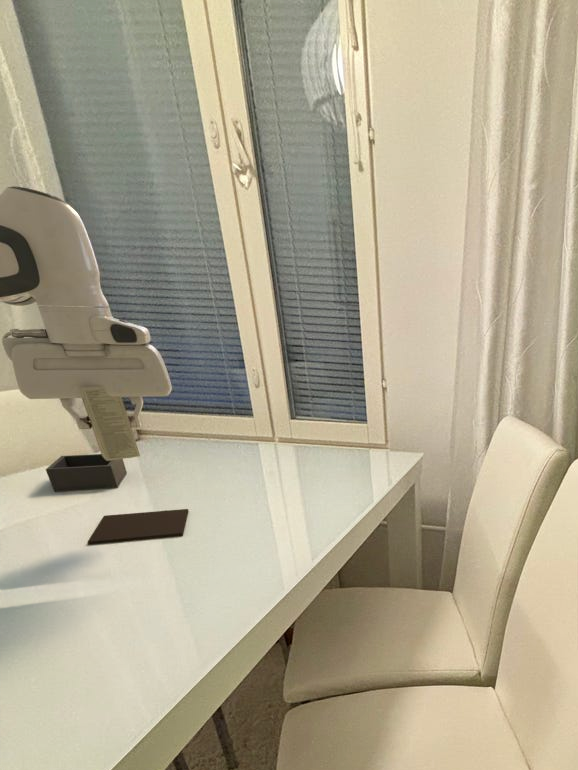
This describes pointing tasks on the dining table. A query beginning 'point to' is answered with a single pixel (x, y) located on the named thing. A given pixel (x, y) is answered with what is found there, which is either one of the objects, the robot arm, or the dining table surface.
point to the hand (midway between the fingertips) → (111, 427)
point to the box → (109, 423)
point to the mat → (139, 526)
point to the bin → (85, 473)
